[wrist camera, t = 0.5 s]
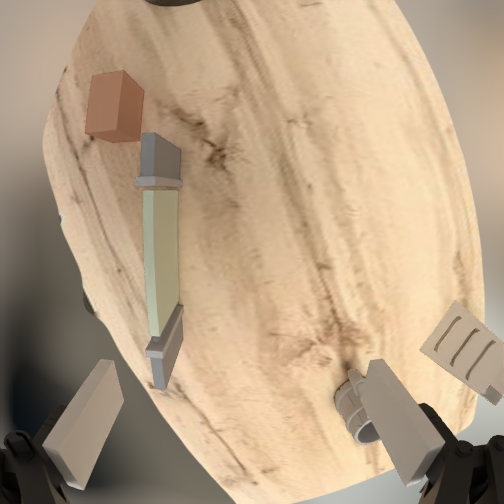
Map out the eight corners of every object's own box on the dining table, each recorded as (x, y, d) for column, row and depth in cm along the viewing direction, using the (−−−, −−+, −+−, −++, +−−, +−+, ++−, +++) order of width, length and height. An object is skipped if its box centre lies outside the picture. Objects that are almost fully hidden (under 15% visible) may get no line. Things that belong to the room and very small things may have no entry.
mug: (337, 416, 45) (357, 464, 33) (322, 367, 42) (345, 418, 30) (377, 399, 44) (404, 443, 33) (368, 349, 42) (402, 393, 30)
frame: (169, 150, 35) (137, 132, 23) (183, 150, 35) (157, 131, 23) (172, 338, 40) (151, 390, 28) (185, 339, 40) (167, 392, 28)
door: (162, 190, 36) (132, 190, 25) (178, 190, 36) (153, 190, 25) (165, 303, 38) (141, 341, 28) (179, 304, 39) (160, 343, 28)
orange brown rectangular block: (117, 94, 33) (92, 75, 25) (144, 91, 33) (123, 70, 25) (112, 142, 34) (84, 133, 27) (140, 140, 35) (116, 129, 27)
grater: (445, 370, 44) (505, 429, 25) (419, 349, 43) (486, 417, 23) (478, 325, 43) (546, 373, 23) (455, 300, 41) (535, 349, 22)
